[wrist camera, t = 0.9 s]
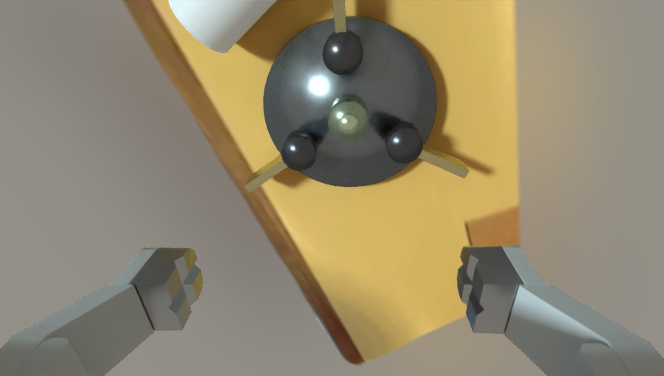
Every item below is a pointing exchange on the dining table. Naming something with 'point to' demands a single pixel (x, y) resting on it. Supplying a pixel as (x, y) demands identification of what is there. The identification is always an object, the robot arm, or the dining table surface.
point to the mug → (219, 19)
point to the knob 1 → (288, 158)
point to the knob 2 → (342, 45)
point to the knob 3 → (418, 149)
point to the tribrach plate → (371, 81)
